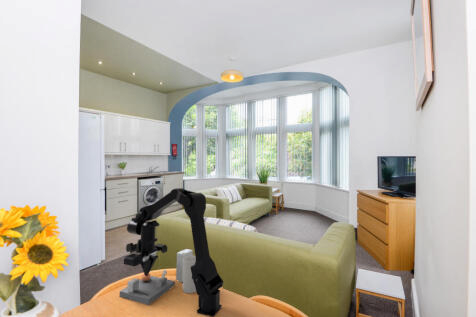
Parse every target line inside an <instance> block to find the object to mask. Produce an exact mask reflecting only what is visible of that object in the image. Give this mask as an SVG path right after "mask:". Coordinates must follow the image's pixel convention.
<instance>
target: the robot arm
mask: <svg viewBox="0 0 476 317" xmlns="http://www.w3.org/2000/svg"><path fill="white" fill-rule="evenodd" d="M176 202H177V203H178V204H179V205H181V206H183V209H184V212H185V214H186V215H187V217H188V219H189V221H190V228H191V235H192V241H193V251H194V256H195V257H196V261H195V265H193V266H191V272H192V279H193V281H194V284H195V288H196V292H195V293H196V295H198V298H197V299H198V302H197V303H198V305H197V307H198V308H197V309H196V313H197V314H201V315H205V316H208V317H216V315H217V313H218V312H219V311H220V310H221V308H222V306H223V305H222V304H221V302H220V301H221V300H220V299H221V290H220V289H221V288H222V287H223V285H224V282H225V281H224V280H223V278H221V277H222V276H221V275H220V274H219V272H218V270H217V267H216V263H215V262H214V259H212V257H211V255H210V250H209V242H208V237H207V230H206V222H205V218H204V216H205V212H206V209H207V198H206V196H205V194H204V193H202V192H196V191H191V190H187V189H185V188H183V187H181V188H178V187H177V188H173V189H172V190H171V191H169V192H168V193H167V194H164V196H162V197H161V198H159V199H158V200H156V201H155V202H153V203H151V204H148V205H145V206H142V207H140V209H139V211H138V213H137V215H136V216H135V217H132V218H131V220H130V221H129V223H128V224H127V226H126V231H127V233H129V234H132V235H136V236H140V239H138V240H137V242H136V243H133V242H129V243H127V244H126V246H125V247H126V248H125V251H126V252H127V253H129V254H128V255H126V256H125V257H124V258H123V265H124V266H125V265H127V266H130V267H137V266H139V265H140V266H141V269H142V271H143V274H144V275H145V276H147V275H148V274H150V272H151V270H152V268H153V266H154V264H155V262H157V261H156V260H157V259H158V258H159V255H157V254H156V253H158V252H161V253H162V254H165V253H166V252H168V246H167V244H163V243H156V242H158V238H157V237H156V232H157V231H156V228H157V227H160V223H159V222H158V221H157V219H158V218H159V217H160V216H161V215H162V212H163V211H164V210H166V209H167V208H168V207H170V206H172V205H174V204H175V203H176Z"/></svg>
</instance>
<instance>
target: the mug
mask: <svg viewBox="0 0 476 317" xmlns="http://www.w3.org/2000/svg"><path fill="white" fill-rule="evenodd" d="M195 261H196V257H195V255H193V256H187V257H184V258H183V283H182V291H183V293H186V294H194V293H197V292H196V288H195V284H194V281H193V279H192V272H191V266H193V265H195ZM193 292H194V293H193Z"/></svg>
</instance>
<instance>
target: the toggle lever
mask: <svg viewBox="0 0 476 317" xmlns="http://www.w3.org/2000/svg"><path fill="white" fill-rule="evenodd" d="M167 274H168V271H167V270H166V269H164V270H162V274H161V277H160V278H161V279H160V280H159V281H161V284H163V283H164V278H165V277H166V275H167Z"/></svg>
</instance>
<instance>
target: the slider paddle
mask: <svg viewBox="0 0 476 317" xmlns="http://www.w3.org/2000/svg"><path fill="white" fill-rule="evenodd" d="M139 280H140V279H139V278H131V279H130V280H128V281H127V287H128V288H127V291H128V292H131V293H133V292H135V291H136V290H138V289H139Z"/></svg>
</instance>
